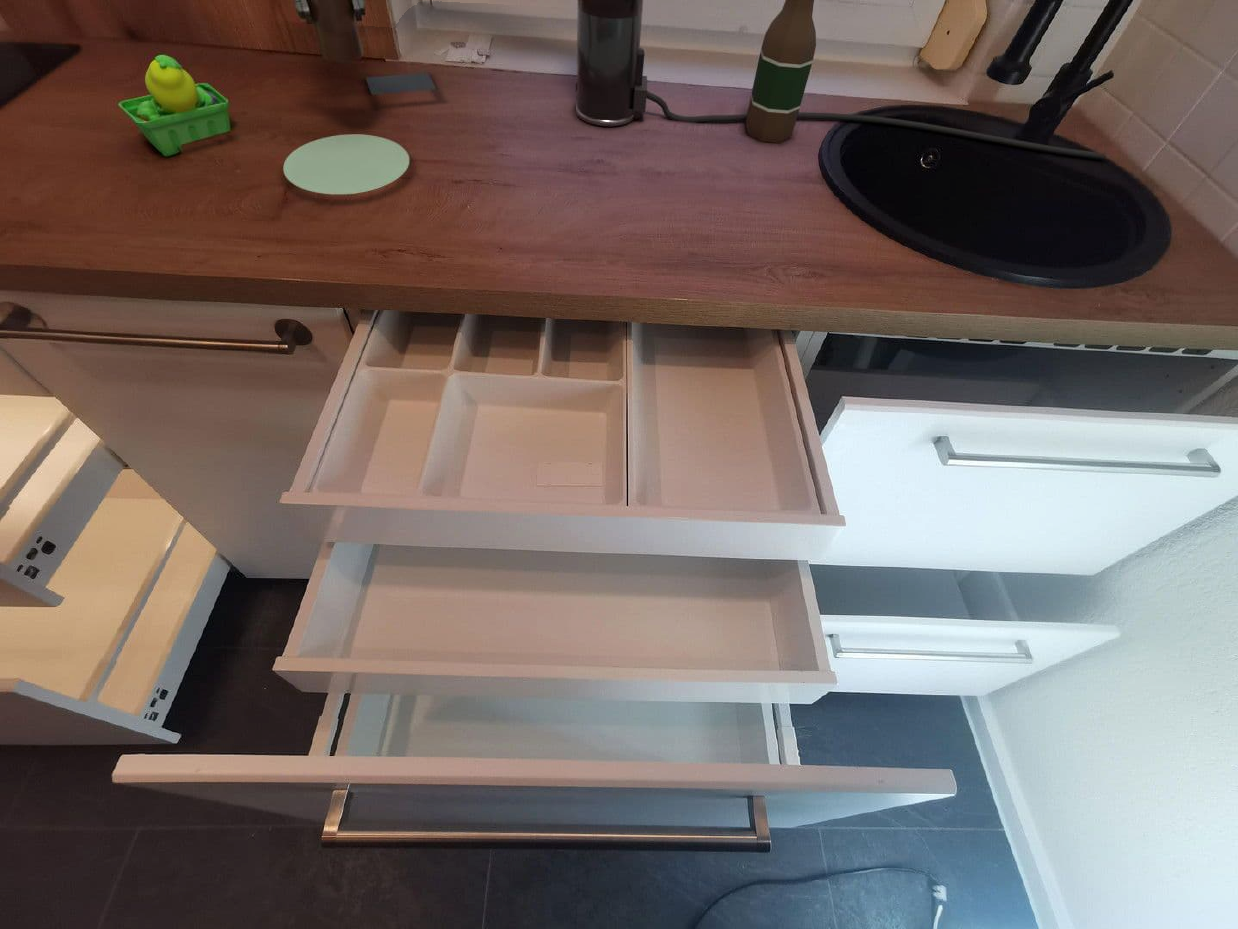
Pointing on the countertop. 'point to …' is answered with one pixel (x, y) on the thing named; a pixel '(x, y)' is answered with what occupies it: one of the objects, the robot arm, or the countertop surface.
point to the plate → (346, 164)
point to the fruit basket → (176, 108)
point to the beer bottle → (782, 73)
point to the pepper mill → (336, 30)
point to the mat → (400, 83)
